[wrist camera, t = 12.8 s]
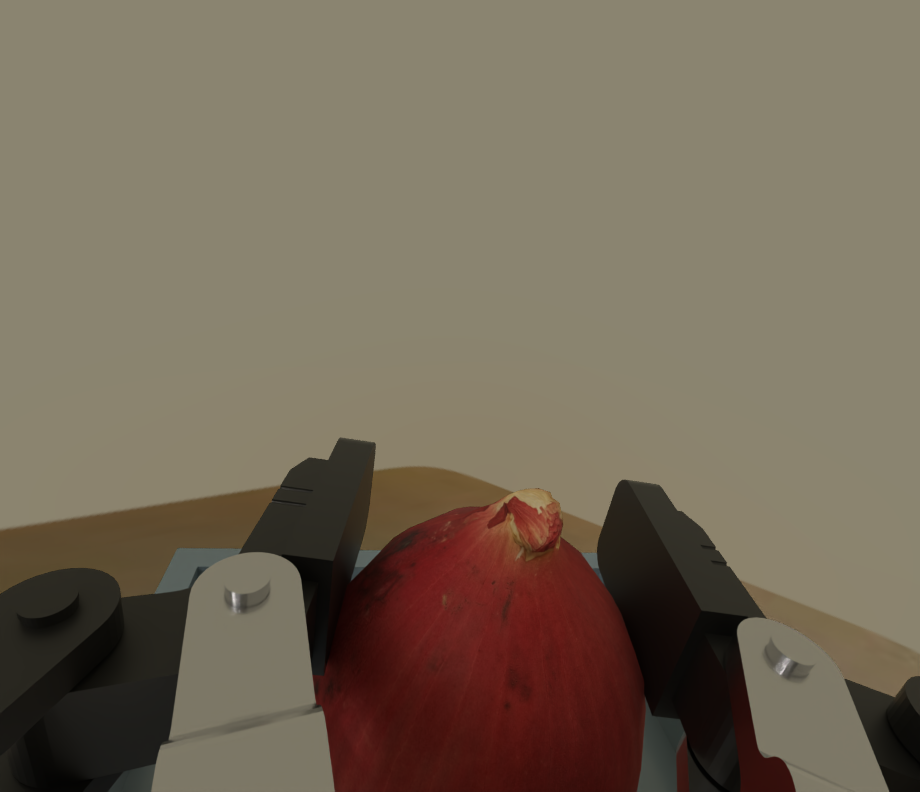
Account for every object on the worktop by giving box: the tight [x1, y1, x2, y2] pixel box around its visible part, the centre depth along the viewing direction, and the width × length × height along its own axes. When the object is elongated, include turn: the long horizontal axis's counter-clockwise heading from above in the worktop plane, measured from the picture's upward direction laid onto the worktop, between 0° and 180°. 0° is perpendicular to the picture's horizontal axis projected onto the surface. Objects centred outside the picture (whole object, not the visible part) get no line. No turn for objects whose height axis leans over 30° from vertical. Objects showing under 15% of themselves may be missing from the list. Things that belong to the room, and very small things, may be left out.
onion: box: [312, 488, 646, 792], centre depth 9 cm, size 6×6×8 cm
